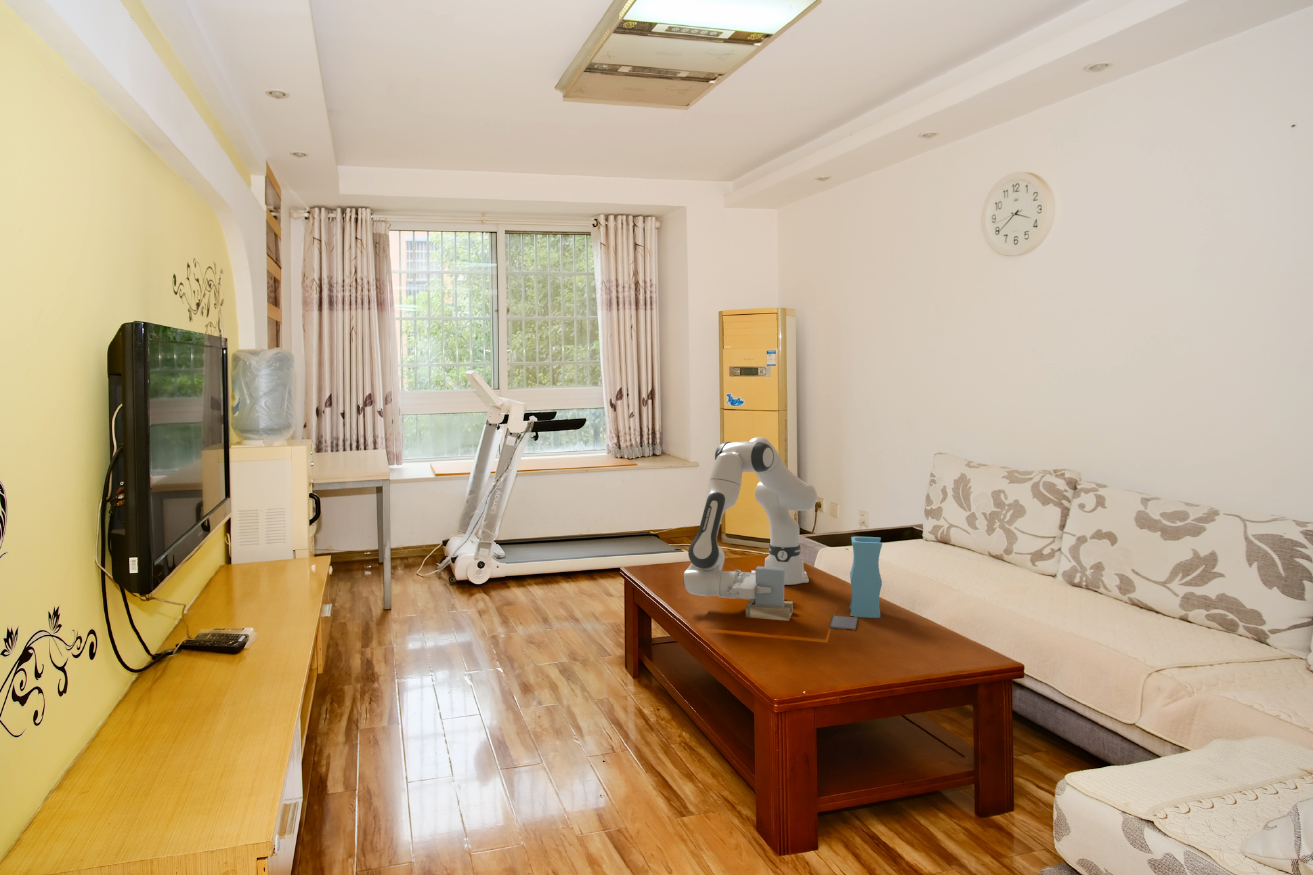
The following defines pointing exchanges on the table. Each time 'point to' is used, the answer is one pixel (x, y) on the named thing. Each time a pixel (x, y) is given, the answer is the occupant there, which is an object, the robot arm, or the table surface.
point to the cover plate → (771, 579)
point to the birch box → (769, 611)
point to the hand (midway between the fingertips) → (772, 587)
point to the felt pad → (843, 622)
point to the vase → (865, 577)
